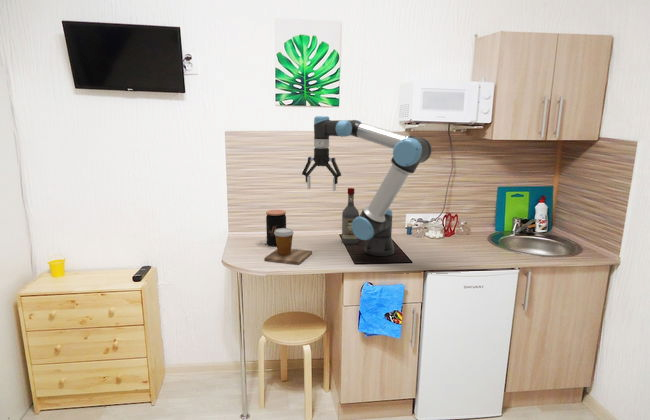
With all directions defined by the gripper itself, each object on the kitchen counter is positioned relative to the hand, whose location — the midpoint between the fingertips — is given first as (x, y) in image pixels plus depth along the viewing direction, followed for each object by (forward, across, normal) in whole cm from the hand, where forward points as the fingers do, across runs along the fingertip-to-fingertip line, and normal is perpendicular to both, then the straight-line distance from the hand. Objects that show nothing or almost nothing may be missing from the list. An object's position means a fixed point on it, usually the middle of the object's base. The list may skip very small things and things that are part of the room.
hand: (321, 189), depth 223 cm
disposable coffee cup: (+30, -14, -18) cm, 38 cm away
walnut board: (+32, -11, -18) cm, 38 cm away
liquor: (+32, +11, +18) cm, 38 cm away
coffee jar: (+32, -26, +1) cm, 41 cm away
